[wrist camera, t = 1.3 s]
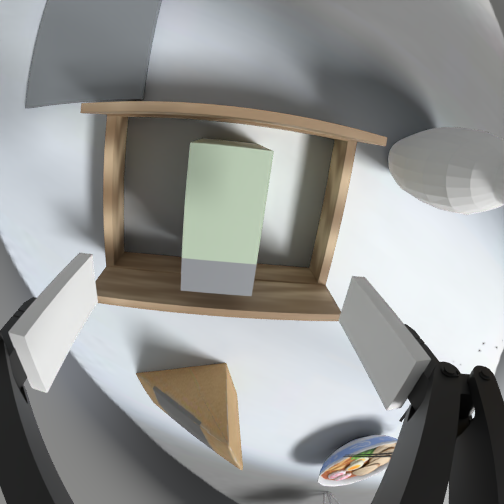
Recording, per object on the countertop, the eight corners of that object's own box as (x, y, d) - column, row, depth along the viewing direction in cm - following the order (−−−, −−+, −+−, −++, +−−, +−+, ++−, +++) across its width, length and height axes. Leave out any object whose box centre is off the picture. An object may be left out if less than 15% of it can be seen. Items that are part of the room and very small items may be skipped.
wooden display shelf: (121, 108, 27) (81, 103, 18) (343, 132, 31) (387, 137, 22) (117, 258, 34) (87, 301, 25) (314, 275, 38) (340, 321, 29)
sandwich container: (133, 371, 42) (114, 447, 29) (225, 360, 43) (229, 445, 29) (153, 403, 46) (142, 474, 32) (237, 394, 46) (243, 471, 32)
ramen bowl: (289, 463, 59) (294, 489, 52) (350, 414, 52) (362, 444, 45) (358, 465, 66) (365, 486, 58) (414, 420, 59) (427, 443, 51)
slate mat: (52, -3, 19) (49, -5, 18) (167, -21, 21) (166, -25, 20) (29, 108, 25) (25, 108, 24) (143, 99, 27) (140, 98, 26)
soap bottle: (447, 111, 30) (615, 143, 6) (456, 173, 34) (607, 243, 10) (360, 127, 31) (568, 165, 7) (375, 198, 34) (545, 314, 10)
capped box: (202, 138, 30) (190, 142, 20) (257, 144, 31) (273, 151, 21) (192, 242, 35) (180, 290, 24) (243, 246, 35) (251, 296, 25)
